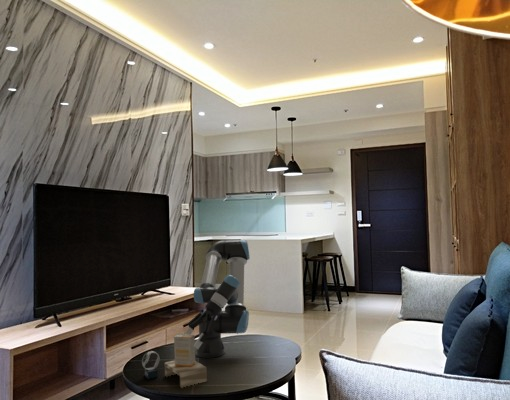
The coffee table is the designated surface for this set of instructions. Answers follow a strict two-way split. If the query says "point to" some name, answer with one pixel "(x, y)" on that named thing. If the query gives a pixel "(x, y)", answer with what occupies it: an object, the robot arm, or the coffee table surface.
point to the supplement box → (184, 350)
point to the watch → (150, 371)
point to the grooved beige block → (187, 373)
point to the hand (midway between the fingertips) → (188, 344)
